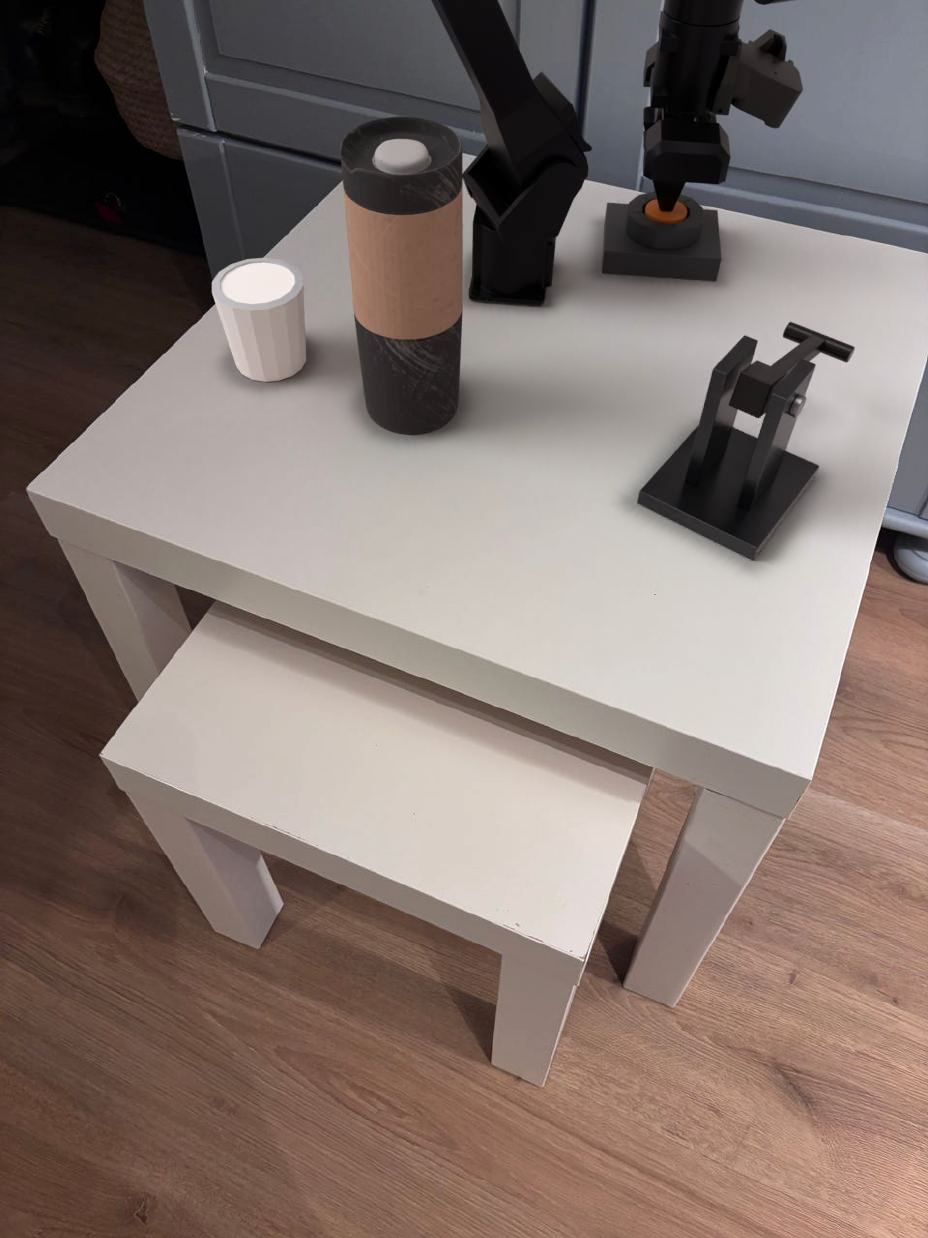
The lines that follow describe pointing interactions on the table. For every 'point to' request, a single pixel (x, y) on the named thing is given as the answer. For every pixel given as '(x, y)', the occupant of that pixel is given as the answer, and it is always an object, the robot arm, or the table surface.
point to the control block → (661, 242)
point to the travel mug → (406, 267)
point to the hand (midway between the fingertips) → (665, 209)
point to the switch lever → (782, 368)
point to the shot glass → (263, 317)
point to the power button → (665, 213)
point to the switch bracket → (736, 463)
